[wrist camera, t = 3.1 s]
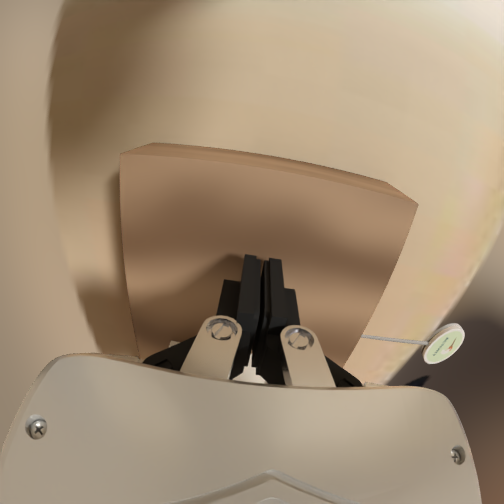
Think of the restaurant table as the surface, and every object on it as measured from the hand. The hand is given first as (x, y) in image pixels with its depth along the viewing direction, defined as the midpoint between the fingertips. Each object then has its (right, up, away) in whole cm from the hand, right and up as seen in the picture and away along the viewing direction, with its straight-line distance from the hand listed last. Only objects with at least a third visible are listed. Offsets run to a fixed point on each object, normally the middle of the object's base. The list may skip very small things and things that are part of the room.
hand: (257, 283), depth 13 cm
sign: (+15, -7, +9) cm, 19 cm away
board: (-1, -2, +7) cm, 7 cm away
